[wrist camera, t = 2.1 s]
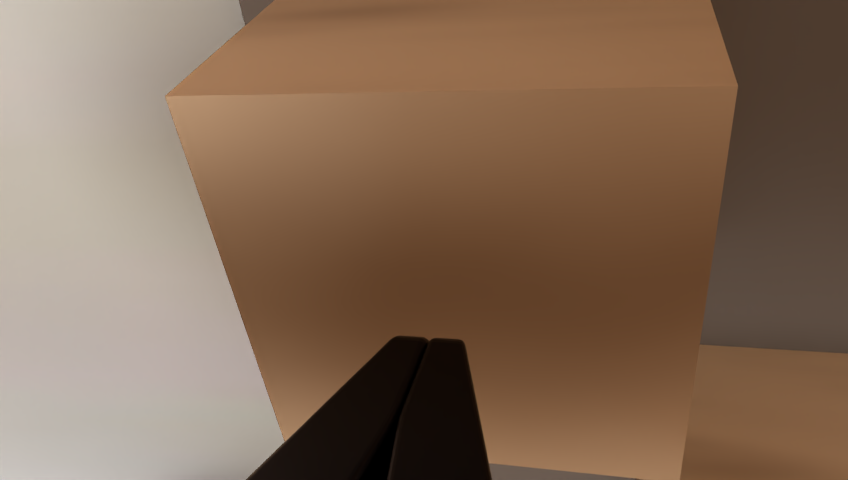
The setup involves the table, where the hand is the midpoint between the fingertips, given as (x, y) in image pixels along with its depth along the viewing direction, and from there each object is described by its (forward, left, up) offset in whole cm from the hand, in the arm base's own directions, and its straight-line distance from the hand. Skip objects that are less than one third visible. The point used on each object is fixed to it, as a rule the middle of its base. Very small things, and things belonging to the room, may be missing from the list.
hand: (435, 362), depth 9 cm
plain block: (0, 0, -7) cm, 7 cm away
